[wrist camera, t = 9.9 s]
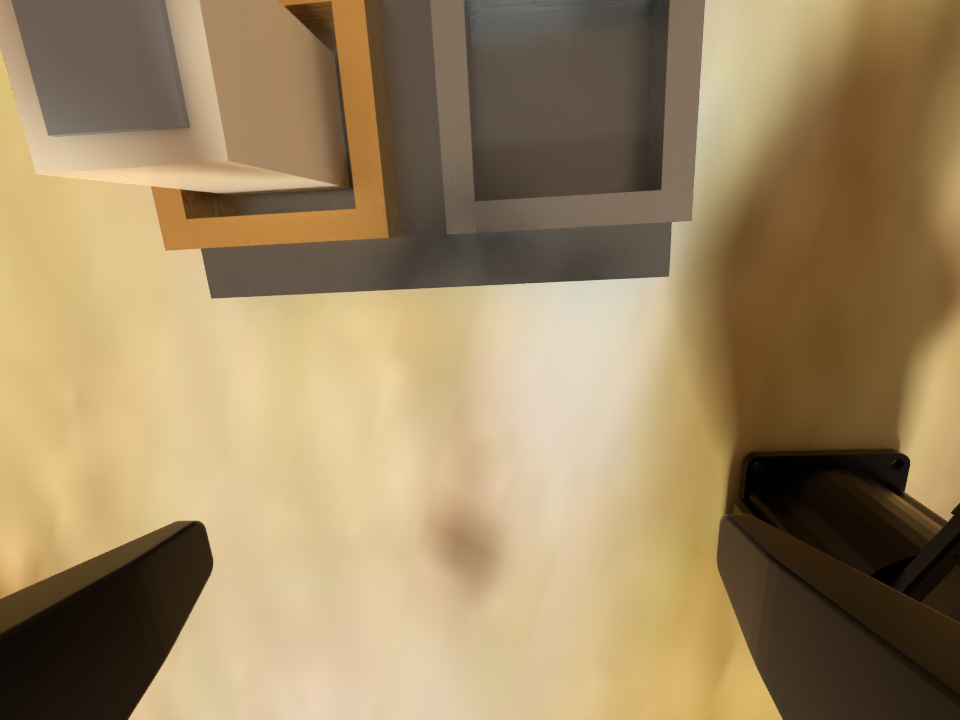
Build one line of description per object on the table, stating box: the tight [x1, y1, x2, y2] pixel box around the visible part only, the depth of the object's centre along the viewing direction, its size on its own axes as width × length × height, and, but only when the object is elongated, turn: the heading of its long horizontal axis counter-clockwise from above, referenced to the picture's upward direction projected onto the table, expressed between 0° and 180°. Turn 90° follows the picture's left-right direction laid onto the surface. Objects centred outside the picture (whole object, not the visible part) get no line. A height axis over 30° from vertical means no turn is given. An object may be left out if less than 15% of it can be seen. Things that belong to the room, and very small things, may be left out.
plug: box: [0, 0, 350, 195], centre depth 14 cm, size 4×4×8 cm
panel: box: [151, 0, 705, 298], centre depth 17 cm, size 18×12×3 cm, turn 93°
